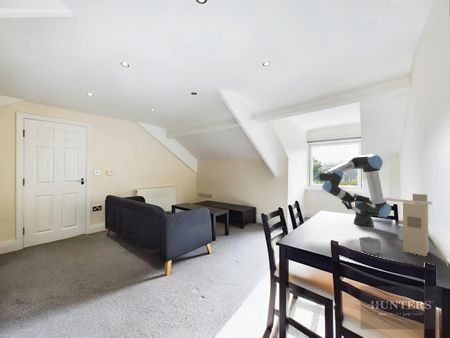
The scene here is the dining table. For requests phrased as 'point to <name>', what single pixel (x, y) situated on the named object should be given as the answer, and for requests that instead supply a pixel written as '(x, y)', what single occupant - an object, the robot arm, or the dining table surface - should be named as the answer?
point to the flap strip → (416, 199)
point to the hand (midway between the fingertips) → (367, 209)
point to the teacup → (370, 245)
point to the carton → (415, 228)
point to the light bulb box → (400, 231)
